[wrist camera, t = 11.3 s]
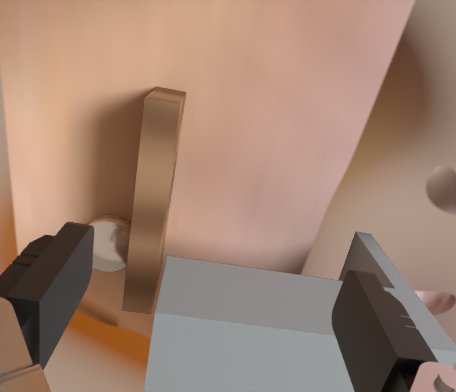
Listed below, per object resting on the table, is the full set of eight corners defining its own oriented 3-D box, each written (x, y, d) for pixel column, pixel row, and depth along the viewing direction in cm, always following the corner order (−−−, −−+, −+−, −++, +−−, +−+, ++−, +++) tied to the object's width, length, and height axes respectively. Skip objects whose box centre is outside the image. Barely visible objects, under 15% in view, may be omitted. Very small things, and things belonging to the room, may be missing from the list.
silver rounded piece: (80, 216, 36) (72, 226, 34) (133, 212, 36) (129, 221, 34) (91, 262, 38) (84, 273, 36) (142, 258, 38) (138, 269, 36)
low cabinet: (179, 203, 36) (154, 312, 22) (370, 233, 37) (460, 352, 23) (165, 292, 39) (137, 433, 26) (340, 316, 41) (402, 460, 27)
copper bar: (157, 86, 32) (144, 97, 26) (186, 91, 32) (179, 104, 26) (135, 270, 38) (122, 310, 33) (159, 273, 39) (150, 314, 33)
